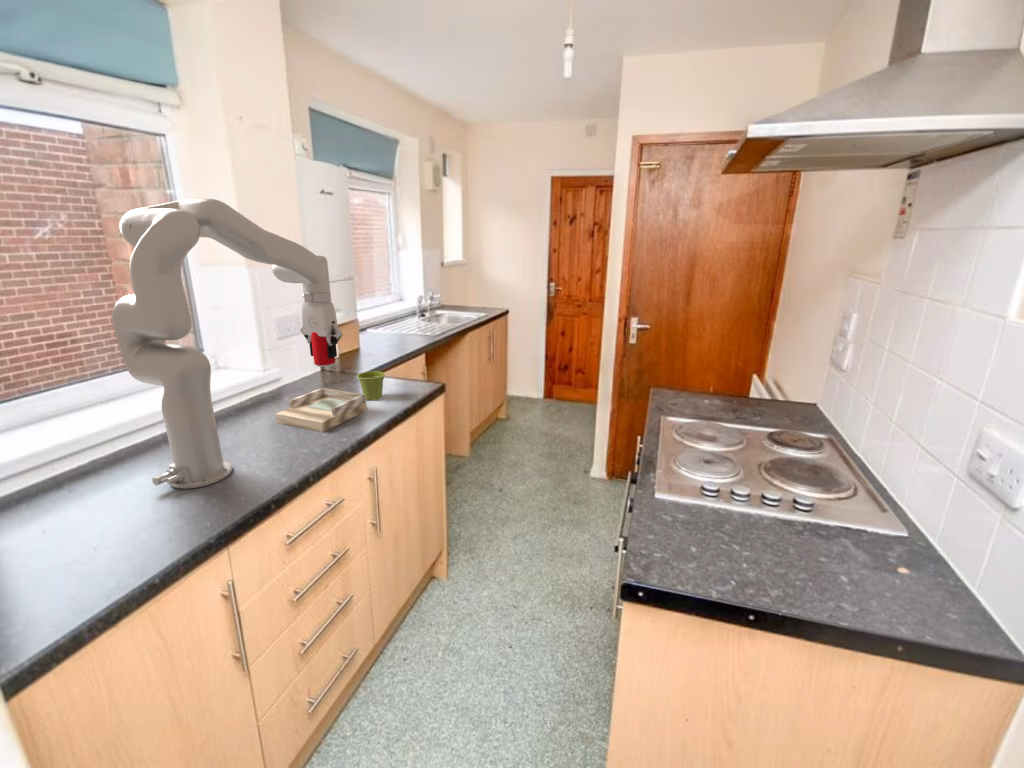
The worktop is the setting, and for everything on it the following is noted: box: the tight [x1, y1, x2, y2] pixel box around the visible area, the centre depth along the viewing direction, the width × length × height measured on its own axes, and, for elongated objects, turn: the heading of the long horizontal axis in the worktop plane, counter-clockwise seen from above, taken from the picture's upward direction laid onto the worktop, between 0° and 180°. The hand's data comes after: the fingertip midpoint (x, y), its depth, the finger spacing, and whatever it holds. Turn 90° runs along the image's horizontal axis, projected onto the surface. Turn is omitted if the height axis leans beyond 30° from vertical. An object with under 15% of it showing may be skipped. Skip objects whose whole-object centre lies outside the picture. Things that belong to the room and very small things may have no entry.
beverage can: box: [311, 332, 336, 368], centre depth 147 cm, size 6×6×12 cm
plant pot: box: [356, 370, 386, 401], centre depth 167 cm, size 9×9×9 cm
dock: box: [274, 387, 368, 433], centre depth 150 cm, size 20×18×6 cm
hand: (323, 355), depth 147 cm, fingers closed on beverage can, 6 cm apart
